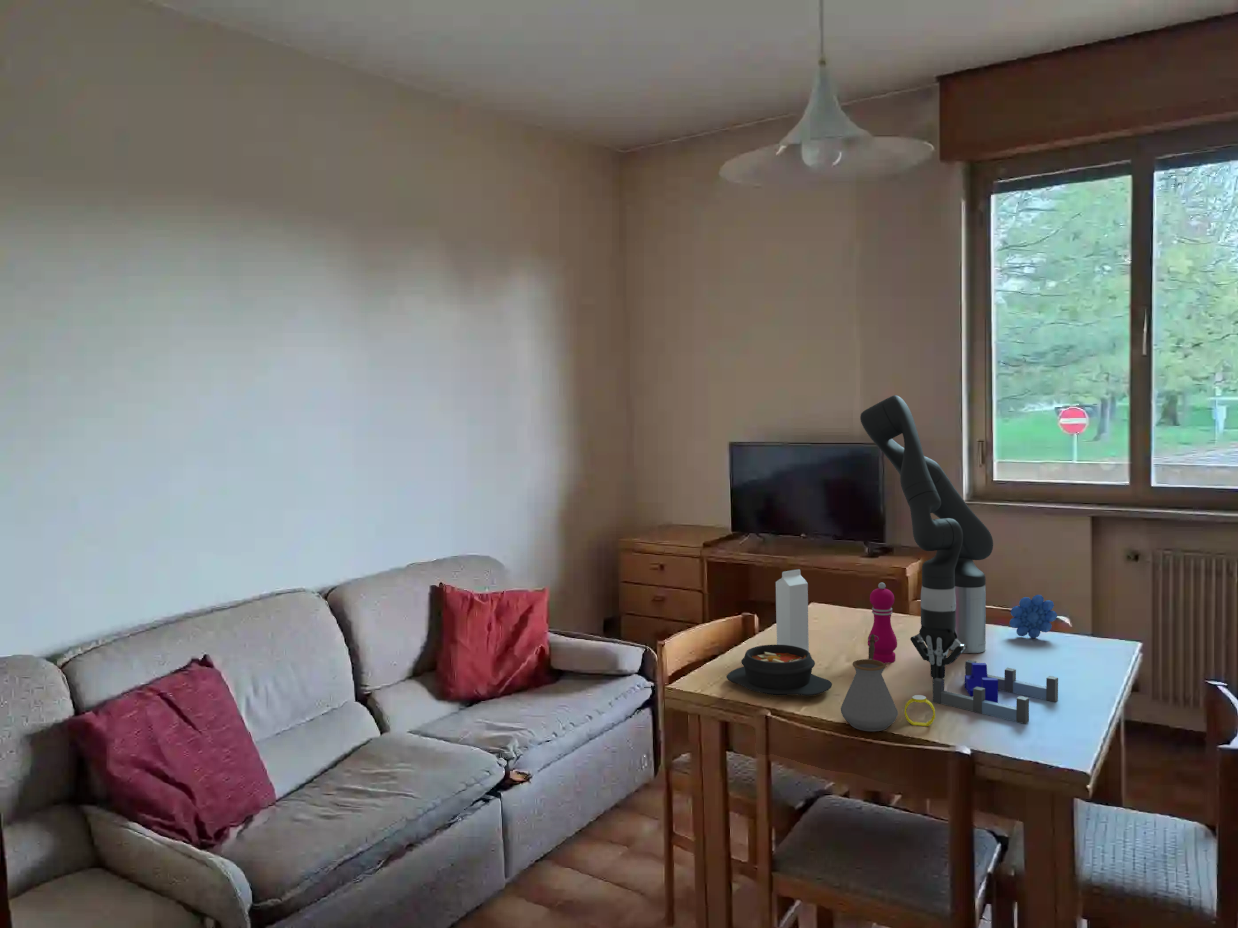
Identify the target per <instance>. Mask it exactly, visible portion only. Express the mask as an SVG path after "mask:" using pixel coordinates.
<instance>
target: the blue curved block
mask: <svg viewBox="0 0 1238 928" xmlns="http://www.w3.org/2000/svg"><path fill="white" fill-rule="evenodd" d="M987 674H988V666H987V664H986V662H976V663H971V675H964V688H965V691H966V692H967V693H968V696H969V697H973V688H975V687H981V688H985V700H987V701H992V702H996V703H999V690H998V680H997V678H988V676H987Z"/></svg>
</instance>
